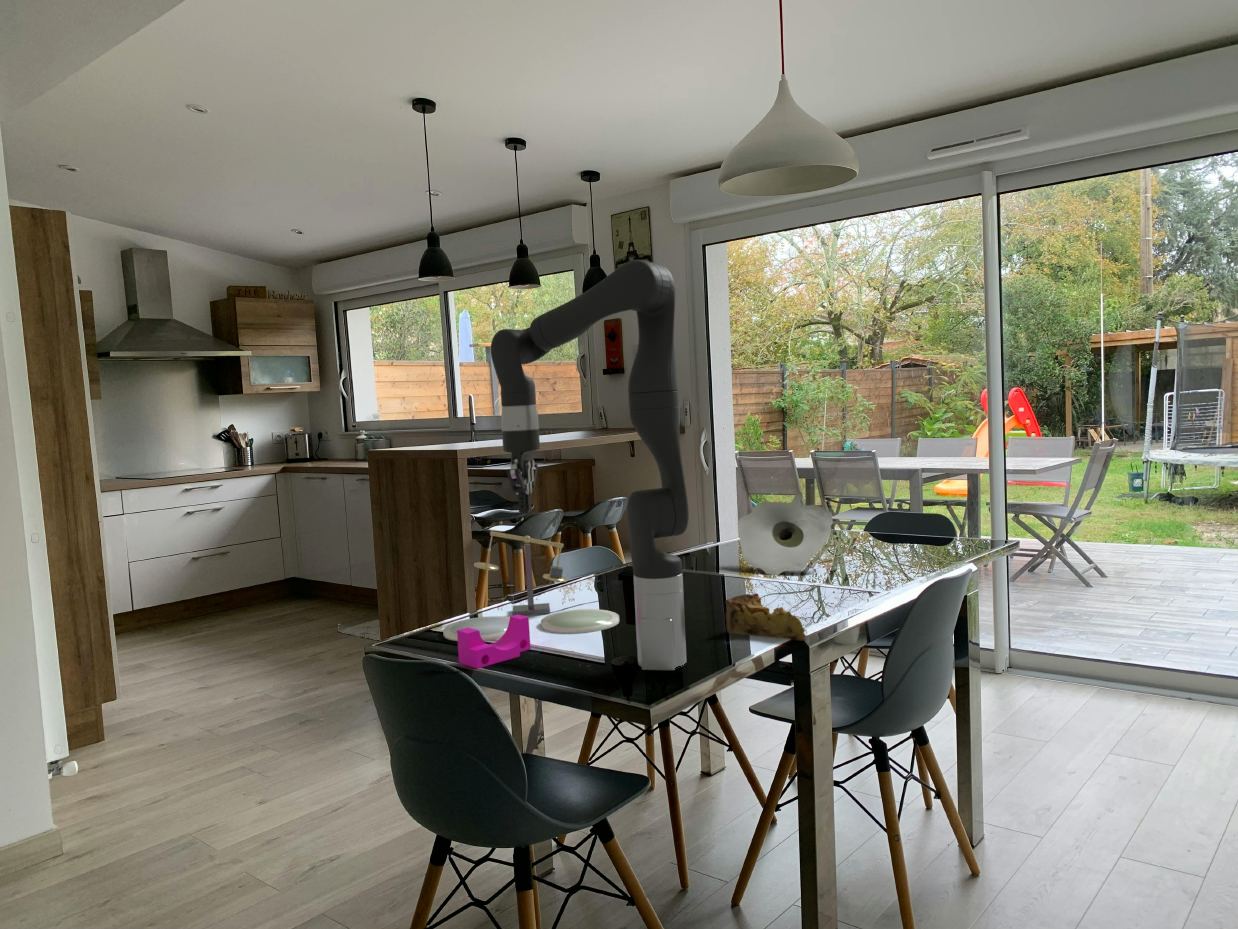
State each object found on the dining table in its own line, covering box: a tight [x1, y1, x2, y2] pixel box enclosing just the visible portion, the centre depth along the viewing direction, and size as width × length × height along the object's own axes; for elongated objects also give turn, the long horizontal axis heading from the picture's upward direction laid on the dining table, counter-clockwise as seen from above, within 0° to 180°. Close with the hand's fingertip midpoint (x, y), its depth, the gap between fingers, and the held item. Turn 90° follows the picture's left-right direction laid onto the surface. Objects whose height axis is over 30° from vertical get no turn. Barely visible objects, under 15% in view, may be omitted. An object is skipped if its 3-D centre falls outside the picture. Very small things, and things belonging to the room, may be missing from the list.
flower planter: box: [737, 491, 834, 576], centre depth 258 cm, size 16×30×28 cm
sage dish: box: [540, 608, 620, 634], centre depth 202 cm, size 18×18×1 cm
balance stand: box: [512, 543, 551, 616], centre depth 215 cm, size 6×9×17 cm, turn 96°
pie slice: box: [724, 592, 807, 642], centre depth 183 cm, size 18×10×8 cm, turn 40°
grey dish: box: [442, 615, 510, 642], centre depth 199 cm, size 18×18×1 cm
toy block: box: [457, 615, 531, 669], centre depth 177 cm, size 15×6×8 cm, turn 134°
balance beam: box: [473, 530, 568, 583], centre depth 214 cm, size 6×23×9 cm, turn 96°
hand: (525, 512), depth 180 cm, fingers closed
